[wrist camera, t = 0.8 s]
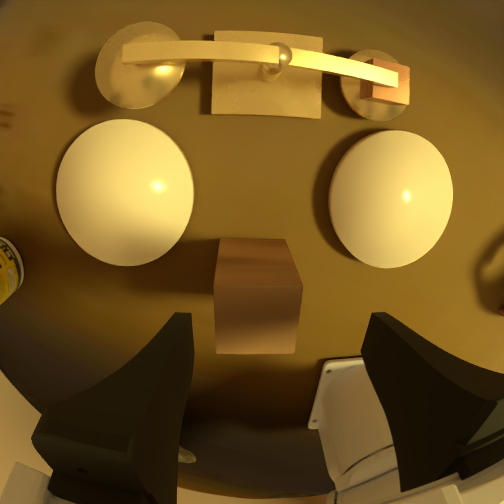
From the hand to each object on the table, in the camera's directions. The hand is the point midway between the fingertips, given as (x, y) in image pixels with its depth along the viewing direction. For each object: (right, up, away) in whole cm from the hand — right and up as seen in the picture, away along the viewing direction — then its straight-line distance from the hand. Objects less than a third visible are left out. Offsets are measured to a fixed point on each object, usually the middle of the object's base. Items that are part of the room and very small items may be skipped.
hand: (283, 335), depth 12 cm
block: (-1, +2, +8) cm, 9 cm away
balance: (0, +13, +4) cm, 14 cm away
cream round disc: (-9, +7, +6) cm, 13 cm away
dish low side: (+8, +7, +7) cm, 12 cm away
